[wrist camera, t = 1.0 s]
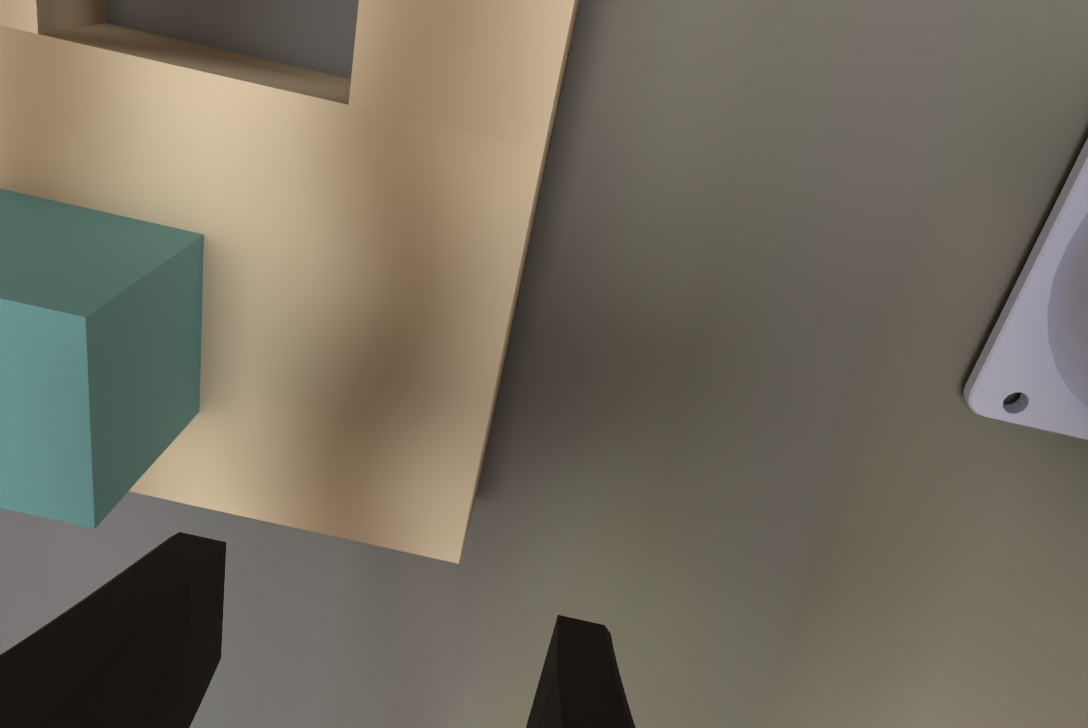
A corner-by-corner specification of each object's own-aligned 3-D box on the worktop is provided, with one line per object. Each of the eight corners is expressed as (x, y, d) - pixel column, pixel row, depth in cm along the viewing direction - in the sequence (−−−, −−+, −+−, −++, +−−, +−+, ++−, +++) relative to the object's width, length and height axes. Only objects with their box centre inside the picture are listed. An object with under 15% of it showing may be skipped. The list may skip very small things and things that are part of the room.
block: (204, 234, 16) (85, 317, 13) (199, 412, 18) (94, 528, 14) (-4, 187, 16) (-182, 257, 13) (12, 370, 18) (-139, 477, 14)
